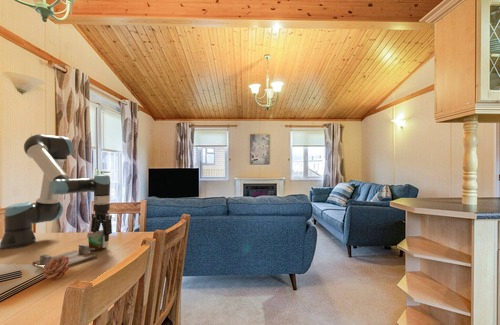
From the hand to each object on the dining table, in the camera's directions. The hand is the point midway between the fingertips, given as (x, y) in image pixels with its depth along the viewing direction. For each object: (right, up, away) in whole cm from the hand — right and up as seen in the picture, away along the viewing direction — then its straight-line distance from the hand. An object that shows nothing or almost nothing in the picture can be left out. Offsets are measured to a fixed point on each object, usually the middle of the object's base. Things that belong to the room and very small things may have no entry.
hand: (100, 246), depth 135 cm
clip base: (-7, -2, -17) cm, 18 cm away
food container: (0, -2, 0) cm, 2 cm away
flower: (+3, -1, -35) cm, 35 cm away
